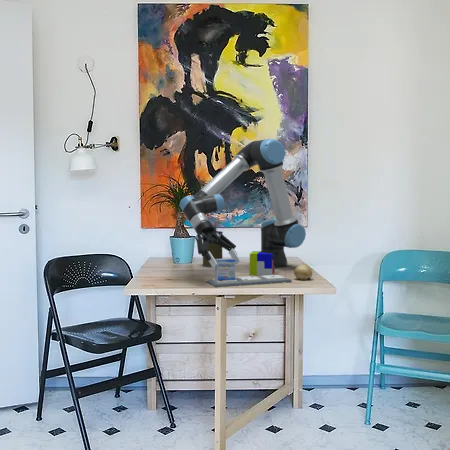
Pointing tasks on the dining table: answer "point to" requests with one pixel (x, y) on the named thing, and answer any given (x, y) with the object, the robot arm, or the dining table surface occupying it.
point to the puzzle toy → (261, 263)
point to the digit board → (249, 281)
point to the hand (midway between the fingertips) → (227, 264)
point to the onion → (303, 272)
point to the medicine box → (225, 269)
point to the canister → (213, 251)
